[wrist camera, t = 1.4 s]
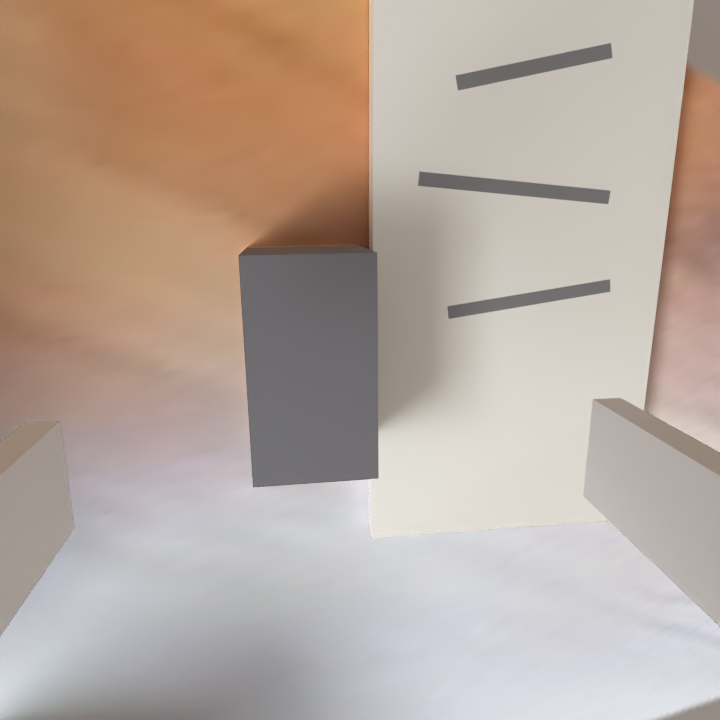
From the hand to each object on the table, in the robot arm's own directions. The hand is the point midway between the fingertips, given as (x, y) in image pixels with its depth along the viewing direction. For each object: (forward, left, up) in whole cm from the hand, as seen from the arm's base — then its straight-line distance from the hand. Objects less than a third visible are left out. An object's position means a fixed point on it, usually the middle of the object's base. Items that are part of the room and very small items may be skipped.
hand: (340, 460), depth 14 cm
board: (+10, +6, -14) cm, 18 cm away
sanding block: (0, 0, -14) cm, 14 cm away
